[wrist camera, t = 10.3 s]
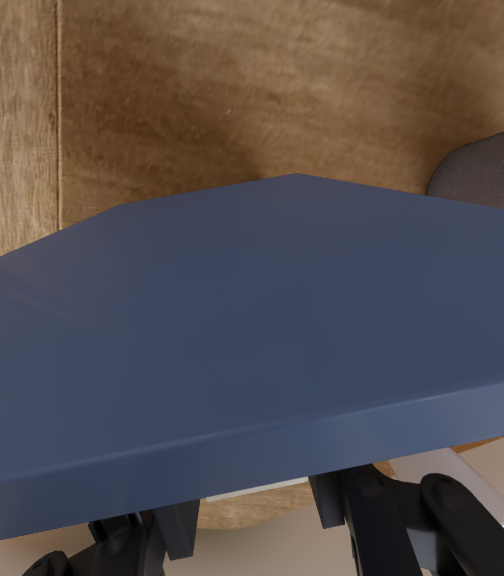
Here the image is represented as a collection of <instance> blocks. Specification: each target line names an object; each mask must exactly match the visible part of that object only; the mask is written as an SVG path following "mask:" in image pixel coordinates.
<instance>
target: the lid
mask: <svg viewBox="0 0 504 576" xmlns="http://www.w3.org/2000/svg"><path fill="white" fill-rule="evenodd" d="M500 436H504V209H500V208H494V207H488V206H483V205H477V204H471V203H465V202H460V201H454V200H448V199H443V198H437V197H431V196H425V195H420V194H414V193H408V192H402V191H397V190H391V189H385V188H380V187H374V186H368V185H362V184H357V183H351V182H345V181H339V180H334V179H328V178H322V177H317V176H311V175H305V174H299V173H295V174H289V175H283V176H278V177H272V178H266V179H261V180H255V181H250V182H244V183H238V184H233V185H227V186H222V187H216V188H210V189H205V190H199V191H194V192H188V193H182V194H177V195H171V196H166V197H160V198H154V199H149V200H143V201H138V202H132V203H126V204H121V205H118V206H115V207H113V208H111V209H108V210H106V211H104V212H101V213H99V214H97V215H95V216H92V217H90V218H88V219H85V220H83V221H81V222H78V223H76V224H74V225H72V226H69V227H67V228H65V229H62V230H60V231H58V232H55V233H53V234H51V235H49V236H46V237H44V238H42V239H39V240H37V241H35V242H32V243H30V244H28V245H26V246H23V247H21V248H19V249H16V250H14V251H12V252H9V253H7V254H5V255H3V256H0V540H4V539H9V538H13V537H18V536H23V535H28V534H33V533H38V532H42V531H47V530H52V529H57V528H62V527H67V526H71V525H76V524H81V523H86V522H91V521H95V520H100V519H105V518H110V517H115V516H120V515H124V514H129V513H134V512H139V511H144V510H148V509H153V508H158V507H163V506H168V505H173V504H177V503H182V502H187V501H192V500H197V499H201V498H206V497H211V496H216V495H221V494H226V493H230V492H235V491H240V490H245V489H250V488H254V487H259V486H264V485H269V484H274V483H278V482H283V481H288V480H293V479H298V478H303V477H307V476H312V475H317V474H322V473H327V472H331V471H336V470H341V469H346V468H351V467H356V466H360V465H365V464H370V463H375V462H380V461H384V460H389V459H394V458H399V457H404V456H409V455H413V454H418V453H423V452H428V451H433V450H437V449H442V448H447V447H452V446H457V445H462V444H466V443H471V442H476V441H481V440H486V439H490V438H495V437H500Z"/></svg>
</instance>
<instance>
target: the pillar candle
mask: <svg viewBox="0 0 504 576" xmlns="http://www.w3.org/2000/svg"><path fill="white" fill-rule="evenodd" d="M427 196H431V197H437V198H443V199H448V200H454V201H460V202H465V203H471V204H477V205H483V206H488V207H494V208H500V209H504V132H502V133H498V134H495V135H493V136H490V137H489V138H484V139H482V140H480V141H476V142H473V143H469V144H466V145H465V146H463V147H461V148H459V149H457V150H454V151H452V152H451V153H450V154H449V155H448V156H447V157H446V158H445V159H444V160H443V161H442V162H441V163H440V164H439V166H438V167H437V169H436V171H435V172H434V174H433V176H432V178H431V181H430V183H429V188H428V192H427Z"/></svg>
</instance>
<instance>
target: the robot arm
mask: <svg viewBox="0 0 504 576" xmlns="http://www.w3.org/2000/svg"><path fill="white" fill-rule="evenodd" d="M308 478H309V481H310V485H311V488H312V492H313V495H314V499H315V502H316V505H317V509H318V512H319V515H320V519H321V523H322V526H323V529H326V528H330V527H335V526H340V525H345V520H344V516H345V519H346V522H347V524H348V527H349V530H350V536H351V545H352V555H353V558H354V560H355V565H356V571H357V576H423V574H422V571H421V569H420V568H424V569H428V570H430V572H431V574H432V575H433V576H504V528H503V527H502V526H501V524H500V523H499V522H498V521H497V520H496V519H495V518H494V517H493V516H492V515H491V513H490V512H489V511H488V510H487V509H486V508H485V507H484V506H483V505H482V503H481V502H480V501H479V500H478V499H477V498H476V497H475V496H474V495H473V494H472V492H471V491H470V490H469V489H467V488H466V487H465V486H464V485H463V484H462V483H461V482H459V481H457V480H456V479H454V478H452V477H450V476H448V475H444V474H441V473H429V474H427V475H425V476H423V477H422V479H421V481H420V484H418V483H411V482H404V481H399V480H394V479H392V478H389V477H387V476H385V475H384V474H382V473H381V472H380V471H379V470H378V469H376V468H375V467H374V466H373V464H372V463H370V464H365V465H360V466H356V467H351V468H346V469H341V470H336V471H331V472H327V473H322V474H317V475H312V476H308ZM199 505H200V499H197V500H192V501H187V502H182V503H177V504H173V505H168V506H163V507H158V508H153V509H148V510H144V511H139V512H134V513H129V514H124V515H120V516H115V517H110V518H105V519H100V520H95V521H91V522H89V524H88V527H89V529H90V531H91V533H92V535H93V537H94V540H95V542H96V543H95V544H93V545H92V546H90V547H88V548H86V549H84V550H82V551H81V552H79V553H77V554H75V555H73V556H72V557H70V558H67V556H66V555H65V553H64V552H63V551H54V552H51V553H48V554H46V555H45V556H43V557H42V558H41V559H39V560H38V561H36V562H35V563H34V564H33V565H32V566H31V567H30V568H29V569H28V570H27V571H26V572H25V573H24V574H23V575H22V576H165V573H164V570H163V567H162V566H163V562H164V557H165V552H166V551H167V553H168V556H169V559H170V560H171V561H172V560H176V559H181V558H186V557H191V556H193V550H194V542H195V535H196V527H197V520H198V512H199Z"/></svg>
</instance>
